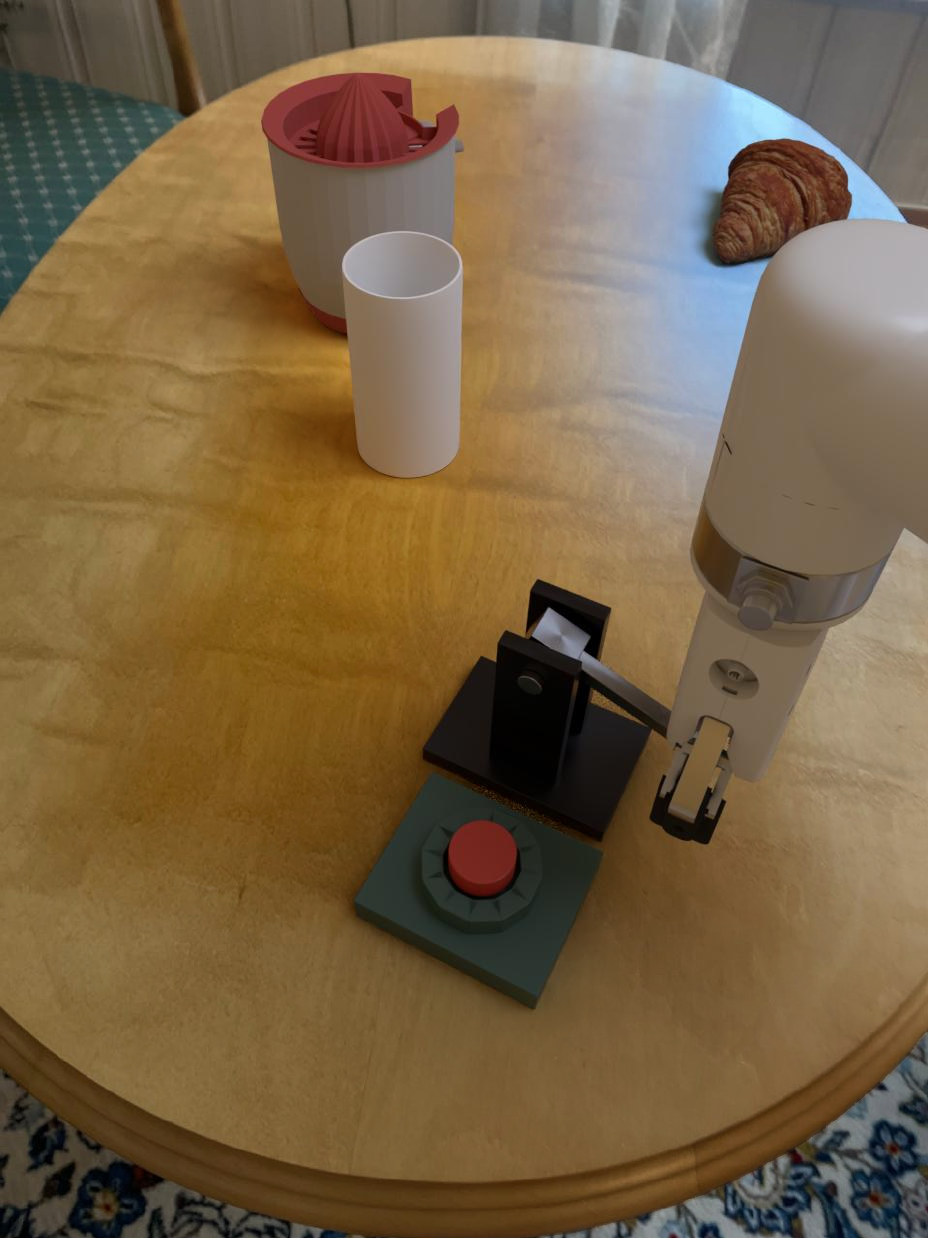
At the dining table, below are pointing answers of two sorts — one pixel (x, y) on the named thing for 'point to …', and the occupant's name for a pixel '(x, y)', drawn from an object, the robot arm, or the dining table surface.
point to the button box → (473, 925)
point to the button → (482, 858)
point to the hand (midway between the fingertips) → (709, 756)
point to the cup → (405, 350)
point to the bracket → (542, 724)
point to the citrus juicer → (355, 175)
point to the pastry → (777, 198)
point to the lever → (599, 671)
